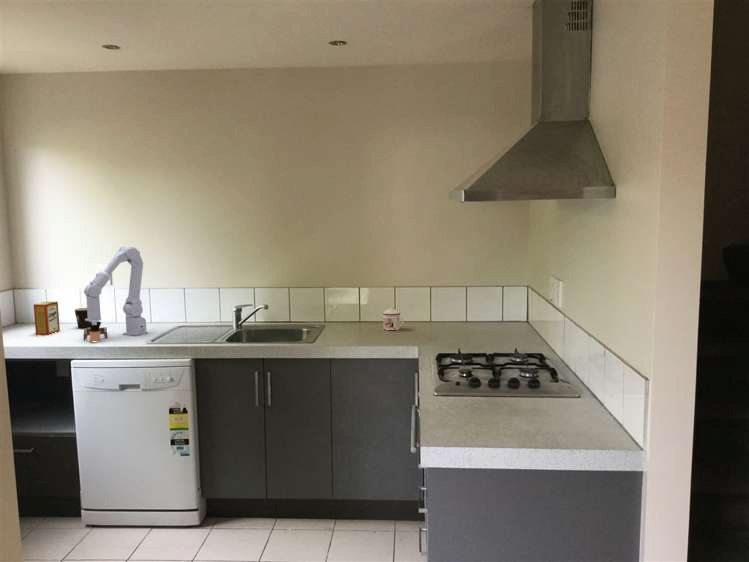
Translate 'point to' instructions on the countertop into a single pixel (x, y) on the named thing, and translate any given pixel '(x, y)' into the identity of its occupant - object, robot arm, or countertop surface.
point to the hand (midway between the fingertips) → (95, 337)
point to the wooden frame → (102, 330)
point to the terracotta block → (94, 336)
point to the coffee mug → (82, 318)
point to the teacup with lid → (392, 319)
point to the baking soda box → (46, 318)
